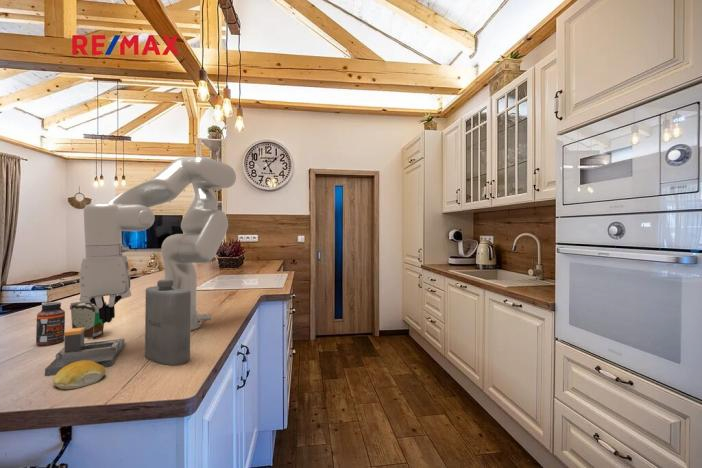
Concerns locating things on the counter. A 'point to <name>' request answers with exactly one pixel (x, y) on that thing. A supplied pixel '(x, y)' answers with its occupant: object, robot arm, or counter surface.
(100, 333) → the food container
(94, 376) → the bread roll
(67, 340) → the lever
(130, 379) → the counter surface
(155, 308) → the flask
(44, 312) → the supplement bottle
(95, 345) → the panel
